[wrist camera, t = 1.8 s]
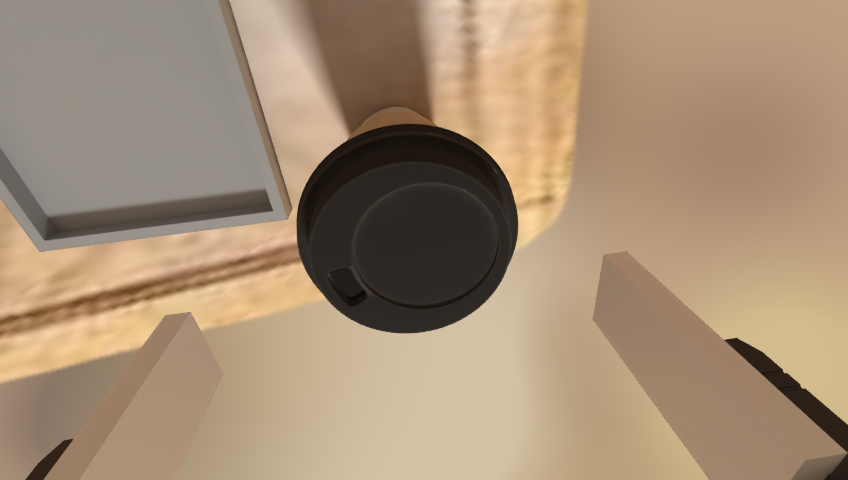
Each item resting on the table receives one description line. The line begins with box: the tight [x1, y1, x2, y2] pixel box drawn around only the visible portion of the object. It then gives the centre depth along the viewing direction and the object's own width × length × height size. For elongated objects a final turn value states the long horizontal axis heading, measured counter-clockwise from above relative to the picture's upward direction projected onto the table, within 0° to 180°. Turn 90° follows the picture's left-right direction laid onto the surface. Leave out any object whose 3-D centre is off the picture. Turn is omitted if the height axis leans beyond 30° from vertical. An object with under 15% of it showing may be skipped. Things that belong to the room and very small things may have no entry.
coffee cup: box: [297, 107, 518, 333], centre depth 21 cm, size 9×9×15 cm
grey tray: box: [0, 0, 292, 252], centre depth 23 cm, size 18×18×2 cm
